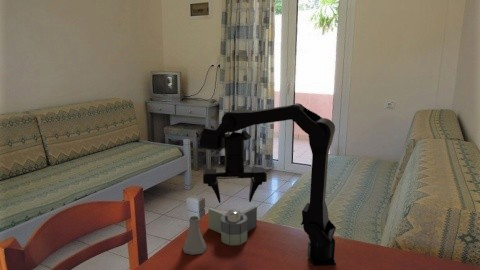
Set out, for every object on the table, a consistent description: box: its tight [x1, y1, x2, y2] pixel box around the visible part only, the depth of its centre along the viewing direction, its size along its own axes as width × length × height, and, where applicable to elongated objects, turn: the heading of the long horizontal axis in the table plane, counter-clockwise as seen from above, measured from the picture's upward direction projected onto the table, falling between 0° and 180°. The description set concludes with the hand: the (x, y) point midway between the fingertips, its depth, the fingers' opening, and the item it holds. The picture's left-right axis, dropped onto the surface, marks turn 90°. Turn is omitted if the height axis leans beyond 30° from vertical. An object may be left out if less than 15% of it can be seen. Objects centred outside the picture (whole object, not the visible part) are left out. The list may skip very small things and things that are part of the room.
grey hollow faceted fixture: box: [221, 205, 258, 235], centre depth 113 cm, size 15×8×7 cm, turn 139°
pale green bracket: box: [207, 207, 248, 246], centre depth 112 cm, size 15×8×7 cm, turn 49°
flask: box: [182, 215, 208, 256], centre depth 104 cm, size 7×7×10 cm
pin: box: [226, 208, 241, 222], centre depth 110 cm, size 4×4×9 cm
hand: (234, 202), depth 108 cm, fingers open, 9 cm apart
